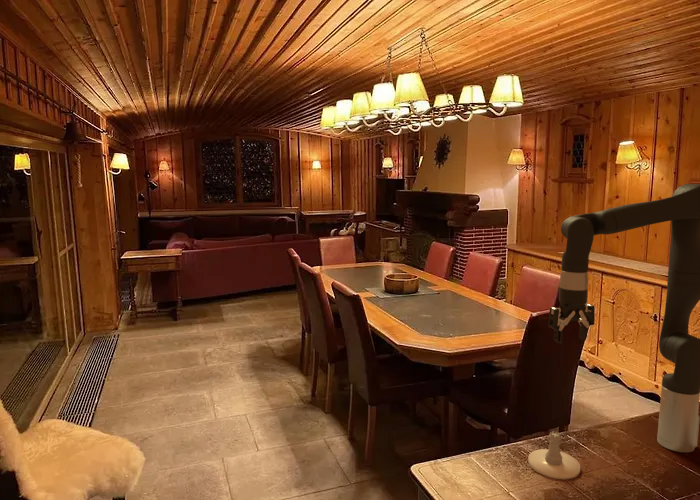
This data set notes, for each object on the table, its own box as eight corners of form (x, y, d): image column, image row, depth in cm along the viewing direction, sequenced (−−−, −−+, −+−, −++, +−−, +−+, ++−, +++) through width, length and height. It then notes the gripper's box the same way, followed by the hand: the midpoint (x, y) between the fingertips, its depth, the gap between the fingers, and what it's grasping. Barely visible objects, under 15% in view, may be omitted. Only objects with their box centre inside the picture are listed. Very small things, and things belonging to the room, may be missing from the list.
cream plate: (557, 449, 144) (557, 446, 144) (591, 474, 132) (591, 470, 132) (518, 456, 141) (518, 453, 140) (550, 483, 128) (550, 479, 128)
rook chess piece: (564, 467, 134) (565, 438, 133) (546, 465, 135) (547, 436, 134) (560, 458, 138) (562, 430, 137) (543, 456, 139) (545, 428, 138)
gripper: (562, 290, 139) (559, 347, 141) (603, 287, 143) (600, 342, 145) (544, 285, 146) (541, 339, 148) (584, 282, 150) (580, 335, 152)
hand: (570, 341), depth 147 cm, fingers open, 8 cm apart
